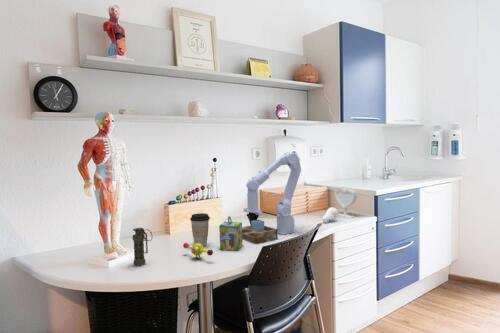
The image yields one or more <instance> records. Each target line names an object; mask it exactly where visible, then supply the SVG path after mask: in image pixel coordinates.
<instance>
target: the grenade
mask: <svg viewBox="0 0 500 333" xmlns="http://www.w3.org/2000/svg"><path fill="white" fill-rule="evenodd" d="M132 231H134V234H133V235H132V241H133V254H134V257H133V258H134V260H133V263H132V264H133V266H134V267H142V266H144V265H146V258H145V254H148V252H149V250H148V242H149V241H150V242H151V241H152V240H153V233H152V231H151V230H150V229H145V228H144V227H136V228H135V227H134V228H133V229H132ZM146 231H148V232H149V233H150V235H151V239H150V240H149V239H148V233H147V232H146ZM144 242H145V244H144ZM144 247H145V248H144ZM144 249H145V250H144Z"/></svg>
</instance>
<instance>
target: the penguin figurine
mask: <svg viewBox="0 0 500 333" xmlns="http://www.w3.org/2000/svg"><path fill="white" fill-rule="evenodd" d="M338 214H339V212H338V209H337V208H336V207H334V206H333V207H329V208H328V209H327V210H326V212H325V213H324V215H323V216H322V217H321V221H322V222H323V224H326V223H327V224H328V223H329V221H328V220H331V221H333V222H334V223H336V222H337V218H338V216H339V215H338Z"/></svg>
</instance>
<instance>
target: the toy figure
mask: <svg viewBox="0 0 500 333" xmlns="http://www.w3.org/2000/svg"><path fill="white" fill-rule="evenodd" d="M182 247H183V248H184V249H190V250H191V254H192V255H194V256H195V257H194V259H196V260H200V259H201V255H202V254H203V253H206V254H207V255H208V256H212V255H213V254H214V251H213V249H207V250H206V249H204V247H203V245H202V244H200V243H195V244H194V243H193V244H192V245H190V244H189V243H188V242H185V243H183V246H182Z"/></svg>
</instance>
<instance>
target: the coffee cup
mask: <svg viewBox="0 0 500 333" xmlns="http://www.w3.org/2000/svg"><path fill="white" fill-rule="evenodd" d="M189 220H190V222H191V225H190V226H191V232H192V238H193V244H195V243H200V244H202V245H203V248H204V247H206V246H208V236H209V226H210V225H209V220H211V217H210V216H209V214H208V213H203V212H200V213H199V212H198V213H194V214H191V217H190V218H189Z"/></svg>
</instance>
